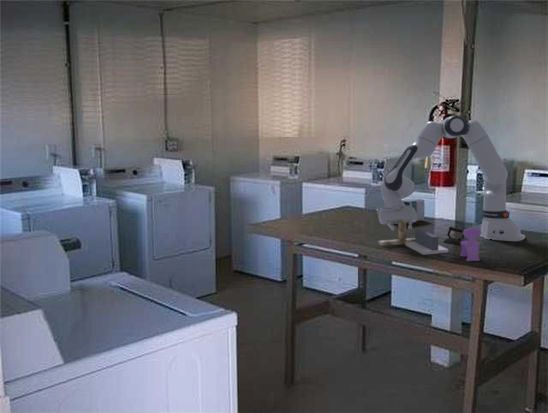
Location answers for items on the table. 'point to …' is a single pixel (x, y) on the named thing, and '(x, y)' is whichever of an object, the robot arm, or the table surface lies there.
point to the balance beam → (401, 236)
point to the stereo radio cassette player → (417, 207)
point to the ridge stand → (426, 243)
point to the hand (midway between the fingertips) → (402, 229)
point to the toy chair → (471, 244)
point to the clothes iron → (454, 240)
